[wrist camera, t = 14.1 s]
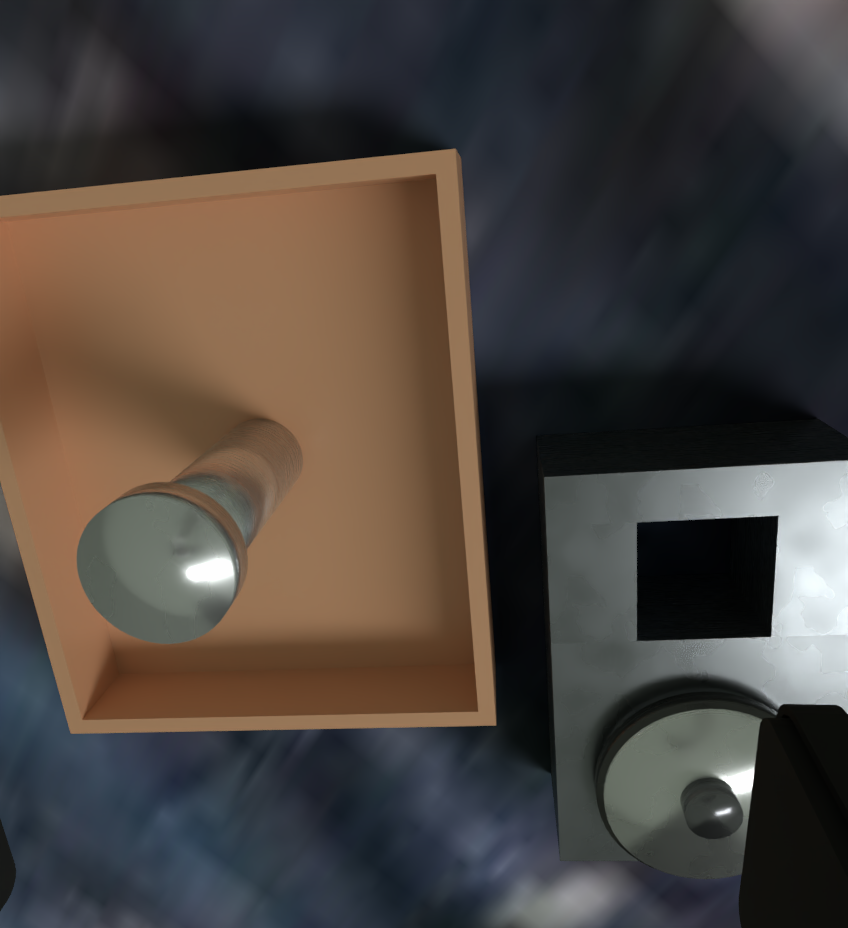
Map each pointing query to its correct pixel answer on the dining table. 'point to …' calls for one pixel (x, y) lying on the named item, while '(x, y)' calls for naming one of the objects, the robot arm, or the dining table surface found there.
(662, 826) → the pulley bracket
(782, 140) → the dining table surface
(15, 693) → the dining table surface
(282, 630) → the tray
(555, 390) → the dining table surface
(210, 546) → the lock pin
